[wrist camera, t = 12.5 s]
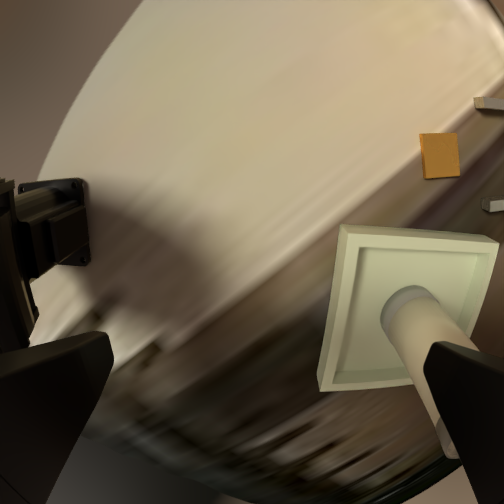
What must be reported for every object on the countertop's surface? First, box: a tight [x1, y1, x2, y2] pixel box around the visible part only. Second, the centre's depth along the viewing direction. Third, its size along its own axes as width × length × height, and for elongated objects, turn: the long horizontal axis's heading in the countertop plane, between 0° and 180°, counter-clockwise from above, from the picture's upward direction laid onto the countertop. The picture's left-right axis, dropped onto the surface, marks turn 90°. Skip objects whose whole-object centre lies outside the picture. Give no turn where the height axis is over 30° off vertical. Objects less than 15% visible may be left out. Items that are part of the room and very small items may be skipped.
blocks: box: [419, 97, 504, 212], centre depth 17 cm, size 10×8×1 cm
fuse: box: [380, 285, 479, 459], centre depth 15 cm, size 5×5×12 cm
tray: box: [317, 224, 499, 392], centre depth 21 cm, size 13×13×2 cm
